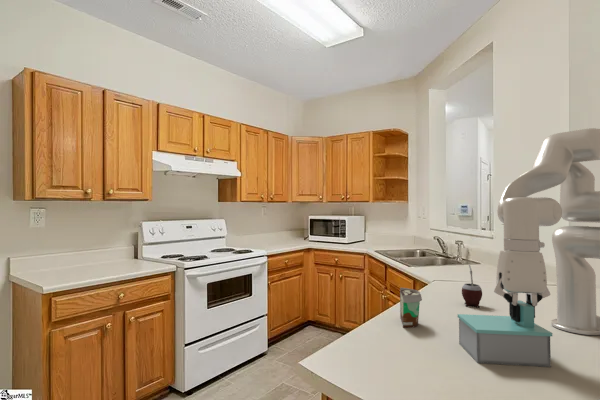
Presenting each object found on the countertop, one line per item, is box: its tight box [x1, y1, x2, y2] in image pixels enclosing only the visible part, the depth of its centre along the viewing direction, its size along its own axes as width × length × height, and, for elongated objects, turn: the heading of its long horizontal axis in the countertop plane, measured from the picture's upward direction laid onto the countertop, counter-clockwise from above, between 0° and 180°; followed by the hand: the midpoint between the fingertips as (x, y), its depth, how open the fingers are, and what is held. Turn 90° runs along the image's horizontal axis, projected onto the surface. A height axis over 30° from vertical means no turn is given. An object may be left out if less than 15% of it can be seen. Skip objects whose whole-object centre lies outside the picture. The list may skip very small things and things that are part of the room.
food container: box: [399, 287, 423, 329], centre depth 109 cm, size 12×6×10 cm, turn 168°
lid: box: [457, 299, 553, 337], centre depth 86 cm, size 17×13×7 cm
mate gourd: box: [461, 264, 483, 309], centre depth 132 cm, size 8×8×15 cm
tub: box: [458, 318, 552, 368], centre depth 86 cm, size 16×12×7 cm
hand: (522, 320), depth 85 cm, fingers open, 2 cm apart
